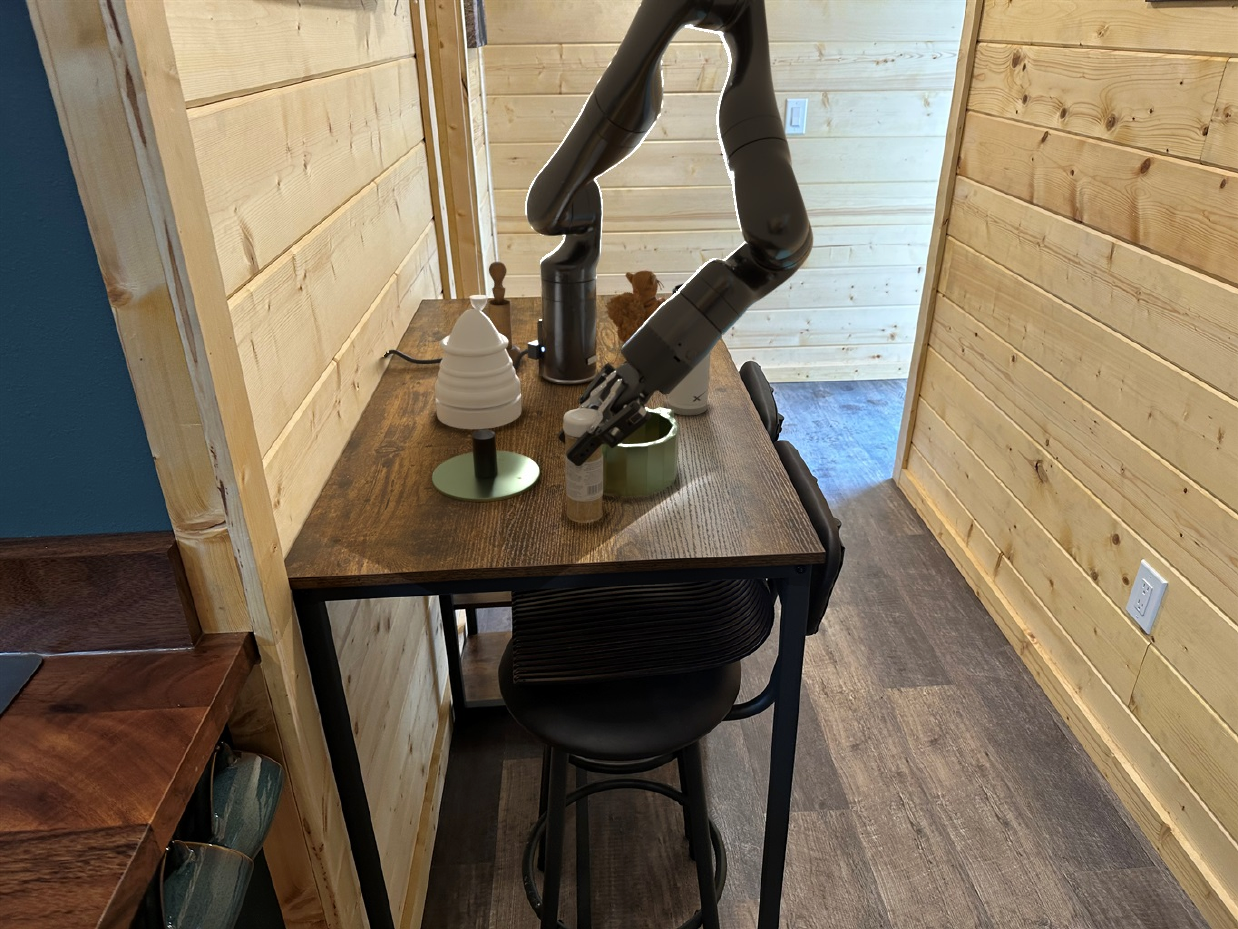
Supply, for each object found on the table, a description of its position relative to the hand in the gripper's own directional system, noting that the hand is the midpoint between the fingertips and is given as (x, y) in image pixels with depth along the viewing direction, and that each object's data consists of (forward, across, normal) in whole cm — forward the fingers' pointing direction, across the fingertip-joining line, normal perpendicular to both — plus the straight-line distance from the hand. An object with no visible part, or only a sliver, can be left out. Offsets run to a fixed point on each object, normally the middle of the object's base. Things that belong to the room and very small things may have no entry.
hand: (567, 450), depth 95 cm
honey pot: (+12, -34, +1) cm, 36 cm away
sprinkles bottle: (+5, 0, +8) cm, 9 cm away
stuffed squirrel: (-12, -65, +25) cm, 71 cm away
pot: (0, -9, +13) cm, 16 cm away
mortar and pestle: (+7, -58, +6) cm, 59 cm away
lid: (+12, -12, 0) cm, 17 cm away
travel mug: (-11, -30, +24) cm, 40 cm away
